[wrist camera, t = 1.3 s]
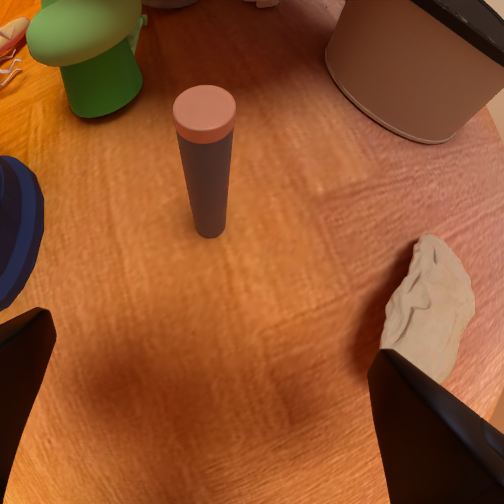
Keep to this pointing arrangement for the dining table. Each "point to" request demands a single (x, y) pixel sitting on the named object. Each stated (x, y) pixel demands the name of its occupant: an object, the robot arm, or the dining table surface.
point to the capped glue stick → (206, 152)
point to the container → (418, 62)
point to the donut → (21, 26)
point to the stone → (430, 309)
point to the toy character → (90, 50)
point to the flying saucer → (167, 3)
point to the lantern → (18, 226)
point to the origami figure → (1, 33)
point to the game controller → (267, 3)
